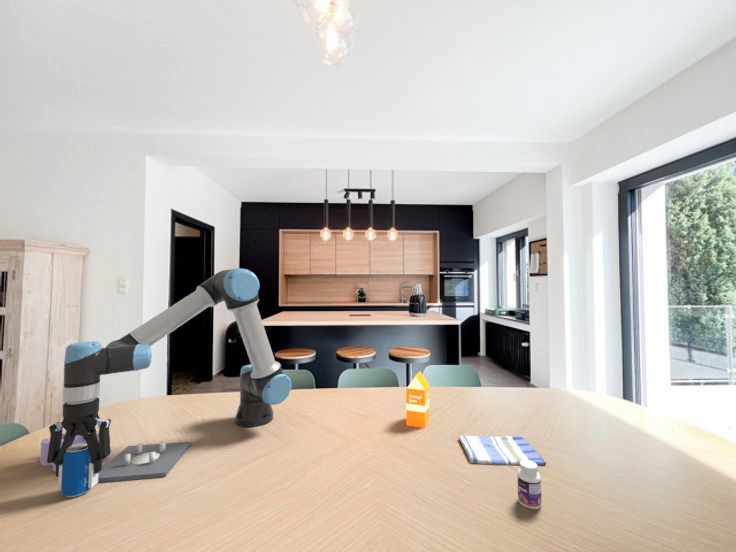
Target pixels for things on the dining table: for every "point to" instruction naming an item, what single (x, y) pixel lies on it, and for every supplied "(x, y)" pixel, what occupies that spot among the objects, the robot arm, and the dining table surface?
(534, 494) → the pill bottle
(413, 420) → the orange juice
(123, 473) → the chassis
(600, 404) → the dining table surface
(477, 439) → the dish towel
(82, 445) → the beverage can
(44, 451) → the clip
